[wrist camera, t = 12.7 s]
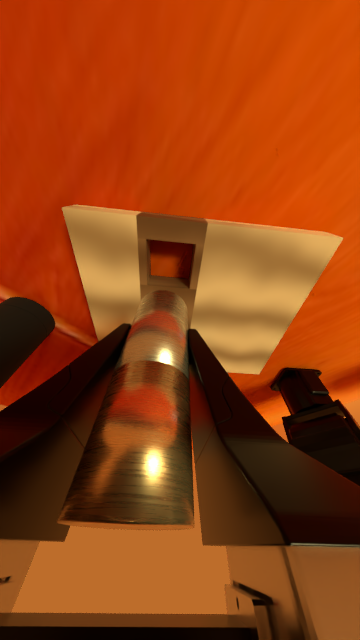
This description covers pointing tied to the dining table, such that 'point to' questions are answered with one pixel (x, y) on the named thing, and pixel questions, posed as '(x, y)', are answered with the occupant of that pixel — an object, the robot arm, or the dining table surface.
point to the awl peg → (141, 431)
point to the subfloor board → (201, 275)
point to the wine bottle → (21, 332)
